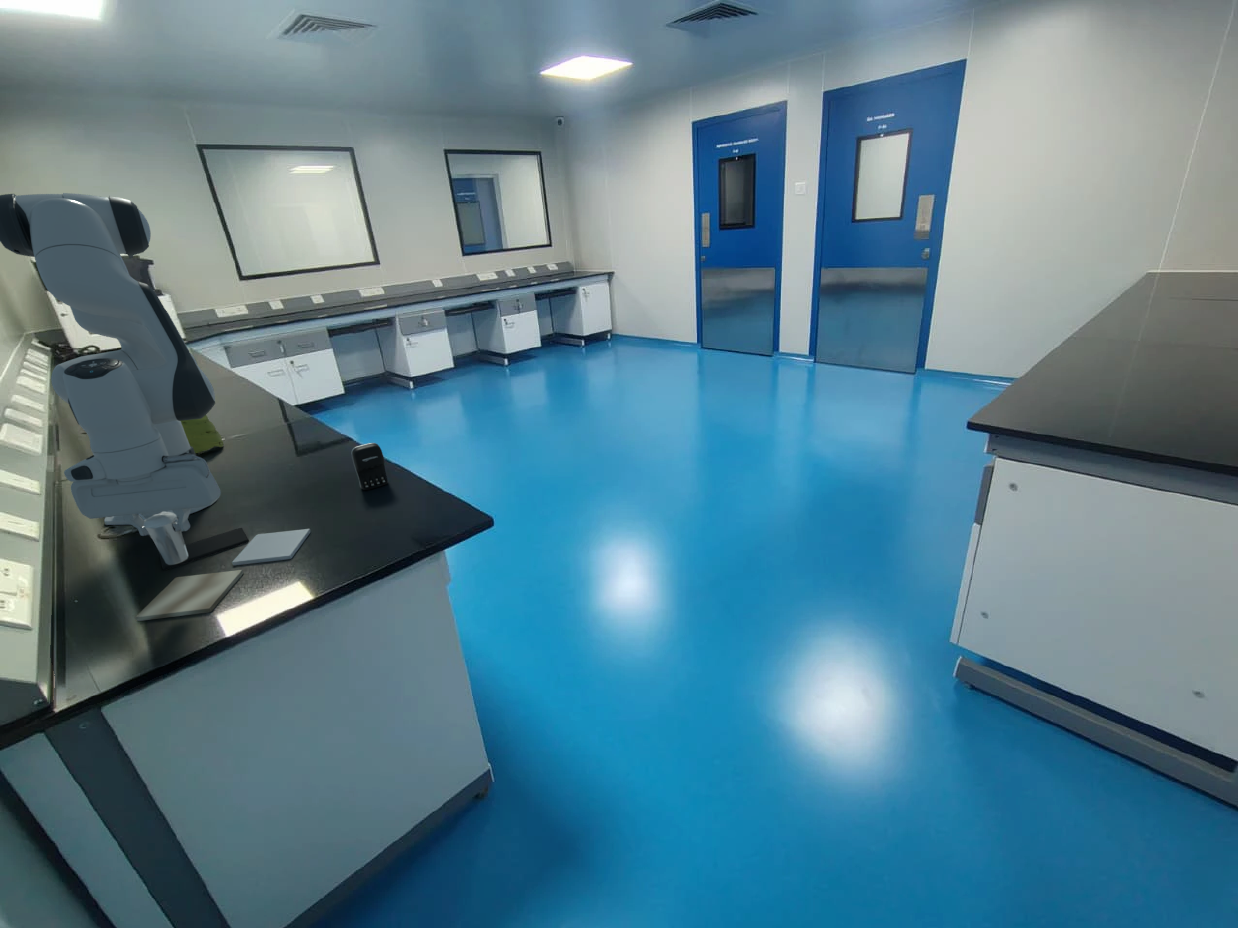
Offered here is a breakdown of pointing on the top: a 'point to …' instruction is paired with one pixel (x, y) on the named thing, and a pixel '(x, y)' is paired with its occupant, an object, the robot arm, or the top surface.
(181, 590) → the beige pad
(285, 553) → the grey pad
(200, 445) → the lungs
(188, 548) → the phone
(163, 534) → the milkshake
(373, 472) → the battery charger
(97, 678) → the top surface
